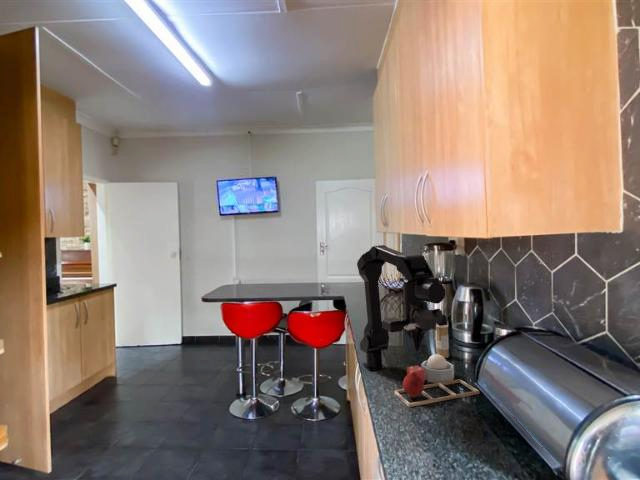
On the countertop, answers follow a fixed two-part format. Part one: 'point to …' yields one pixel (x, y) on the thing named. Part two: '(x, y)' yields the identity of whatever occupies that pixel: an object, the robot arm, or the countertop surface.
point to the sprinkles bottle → (442, 340)
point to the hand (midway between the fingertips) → (416, 350)
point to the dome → (437, 362)
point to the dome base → (433, 373)
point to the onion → (413, 384)
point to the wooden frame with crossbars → (440, 397)
